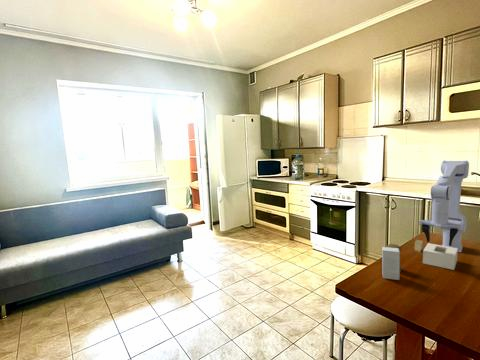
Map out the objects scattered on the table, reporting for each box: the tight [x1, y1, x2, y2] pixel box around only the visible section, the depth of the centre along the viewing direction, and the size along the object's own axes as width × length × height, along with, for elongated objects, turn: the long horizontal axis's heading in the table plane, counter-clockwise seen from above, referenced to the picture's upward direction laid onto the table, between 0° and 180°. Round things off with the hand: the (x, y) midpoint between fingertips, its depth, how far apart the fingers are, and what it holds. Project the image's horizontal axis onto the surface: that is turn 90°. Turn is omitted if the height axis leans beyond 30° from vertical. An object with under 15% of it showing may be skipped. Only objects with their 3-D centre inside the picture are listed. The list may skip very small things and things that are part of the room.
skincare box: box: [381, 246, 401, 281], centre depth 109 cm, size 6×4×12 cm
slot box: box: [422, 242, 458, 271], centre depth 119 cm, size 11×11×6 cm
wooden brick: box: [414, 239, 423, 253], centre depth 133 cm, size 4×2×4 cm, turn 136°
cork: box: [386, 243, 402, 272], centre depth 115 cm, size 6×6×11 cm
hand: (439, 243), depth 116 cm, fingers open, 7 cm apart
